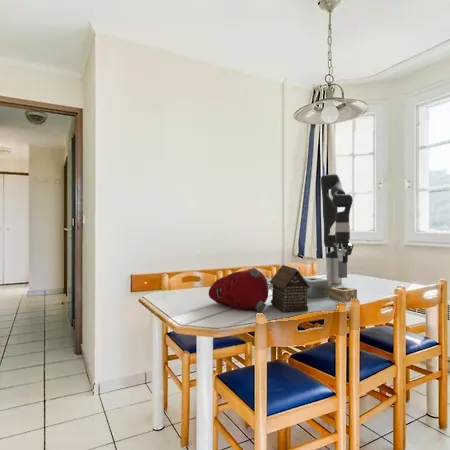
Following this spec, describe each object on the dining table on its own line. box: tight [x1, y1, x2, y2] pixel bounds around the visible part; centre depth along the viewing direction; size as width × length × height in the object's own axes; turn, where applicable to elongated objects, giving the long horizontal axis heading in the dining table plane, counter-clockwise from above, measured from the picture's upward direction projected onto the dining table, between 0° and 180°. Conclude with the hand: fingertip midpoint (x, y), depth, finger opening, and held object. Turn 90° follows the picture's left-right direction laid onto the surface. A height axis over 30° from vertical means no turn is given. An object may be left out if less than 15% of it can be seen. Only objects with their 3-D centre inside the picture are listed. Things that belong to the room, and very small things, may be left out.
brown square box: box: [329, 286, 358, 302], centre depth 185 cm, size 10×10×5 cm
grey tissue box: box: [303, 276, 338, 299], centre depth 194 cm, size 20×12×9 cm, turn 116°
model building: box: [269, 264, 310, 313], centre depth 166 cm, size 18×14×20 cm
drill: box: [338, 251, 348, 279], centre depth 185 cm, size 3×3×14 cm
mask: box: [208, 267, 270, 312], centre depth 170 cm, size 20×26×30 cm
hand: (342, 262), depth 185 cm, fingers closed on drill, 3 cm apart
